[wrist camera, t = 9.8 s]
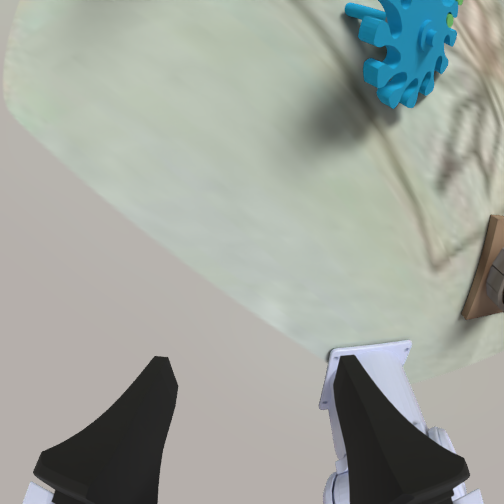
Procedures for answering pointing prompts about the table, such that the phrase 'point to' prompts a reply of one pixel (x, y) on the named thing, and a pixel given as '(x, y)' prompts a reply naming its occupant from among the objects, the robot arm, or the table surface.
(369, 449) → the robot arm
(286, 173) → the table surface
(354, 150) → the table surface
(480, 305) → the manifold board
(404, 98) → the gear
